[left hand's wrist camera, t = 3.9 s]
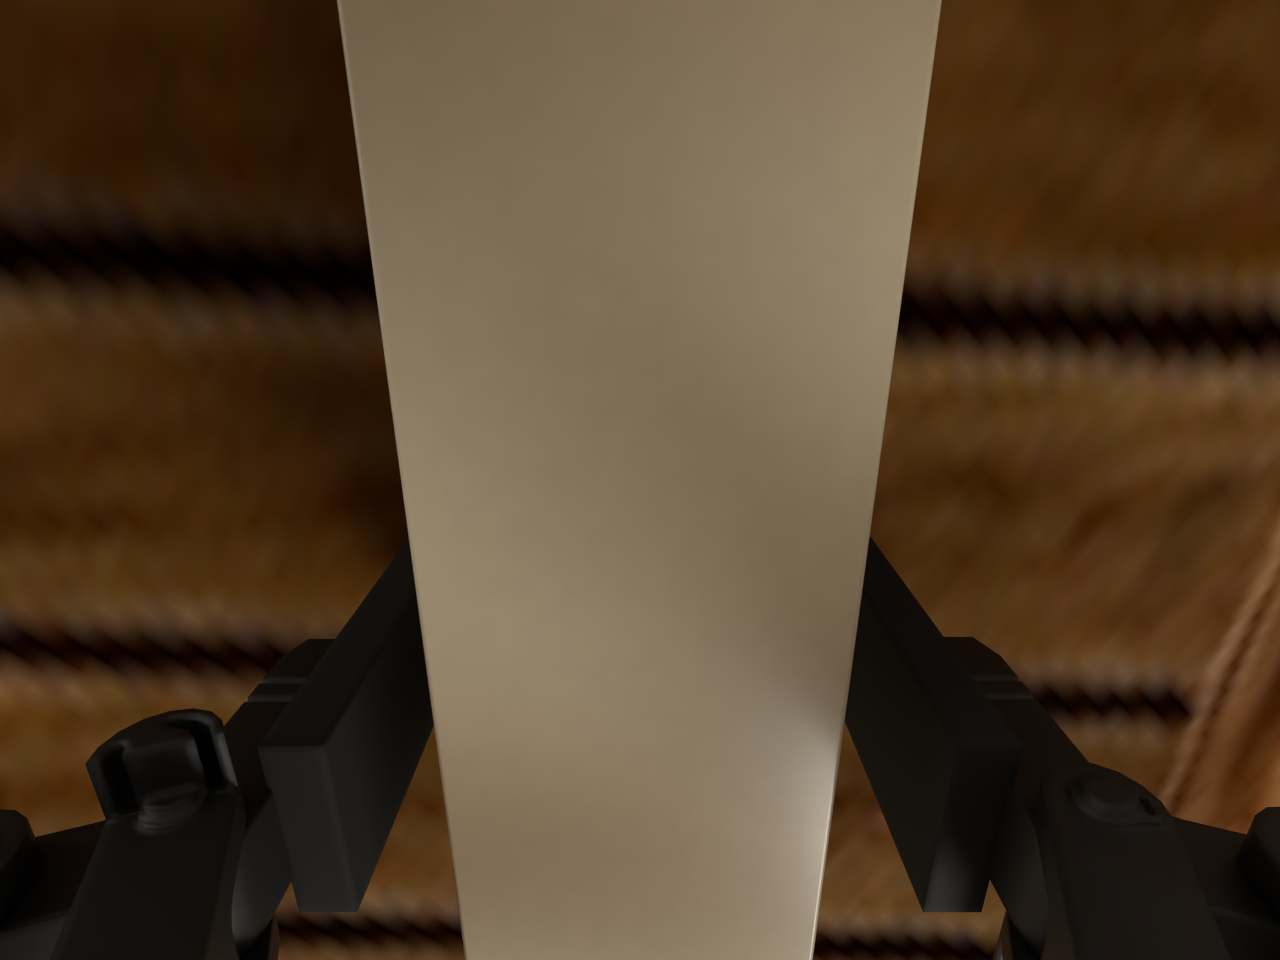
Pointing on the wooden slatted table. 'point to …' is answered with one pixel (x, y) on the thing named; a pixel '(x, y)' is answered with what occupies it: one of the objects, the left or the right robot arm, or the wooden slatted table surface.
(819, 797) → the ash bar
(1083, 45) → the wooden slatted table surface
